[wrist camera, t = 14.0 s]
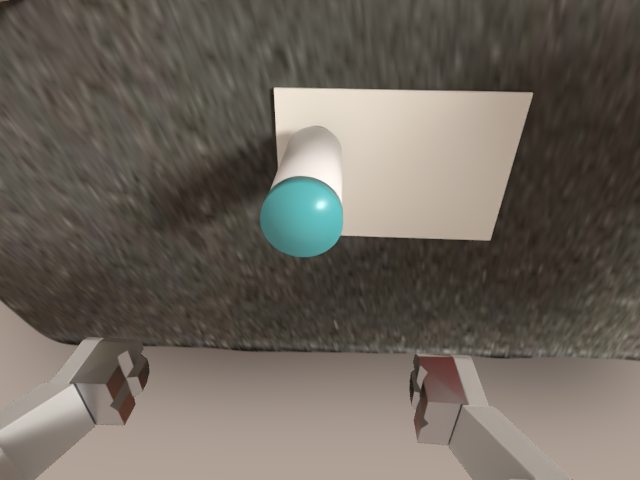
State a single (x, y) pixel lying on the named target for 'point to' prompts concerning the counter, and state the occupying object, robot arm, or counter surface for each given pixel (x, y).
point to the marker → (306, 195)
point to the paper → (413, 155)
